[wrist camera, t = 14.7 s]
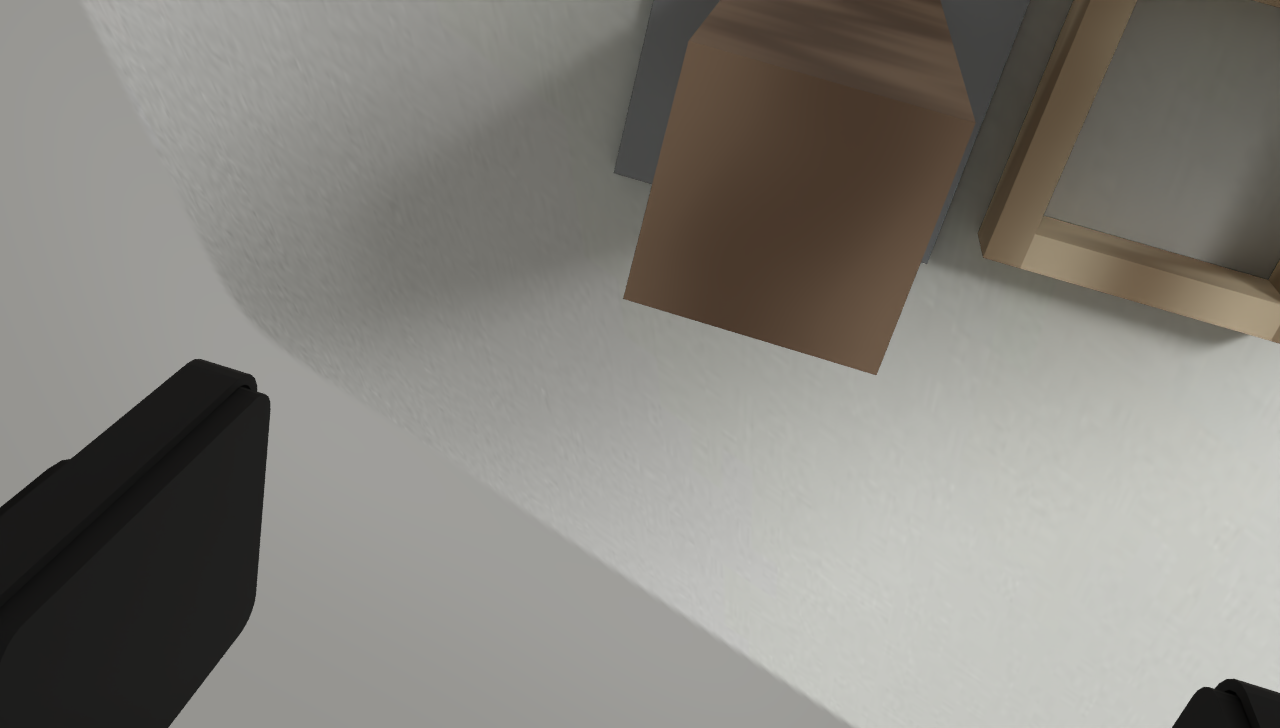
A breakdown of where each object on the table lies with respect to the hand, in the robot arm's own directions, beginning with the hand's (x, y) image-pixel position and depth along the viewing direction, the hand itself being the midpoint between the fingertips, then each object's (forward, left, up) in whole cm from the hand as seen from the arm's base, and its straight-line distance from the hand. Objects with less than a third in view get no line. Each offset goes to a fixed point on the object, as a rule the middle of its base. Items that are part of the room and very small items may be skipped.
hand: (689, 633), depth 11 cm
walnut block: (0, 0, -28) cm, 28 cm away
